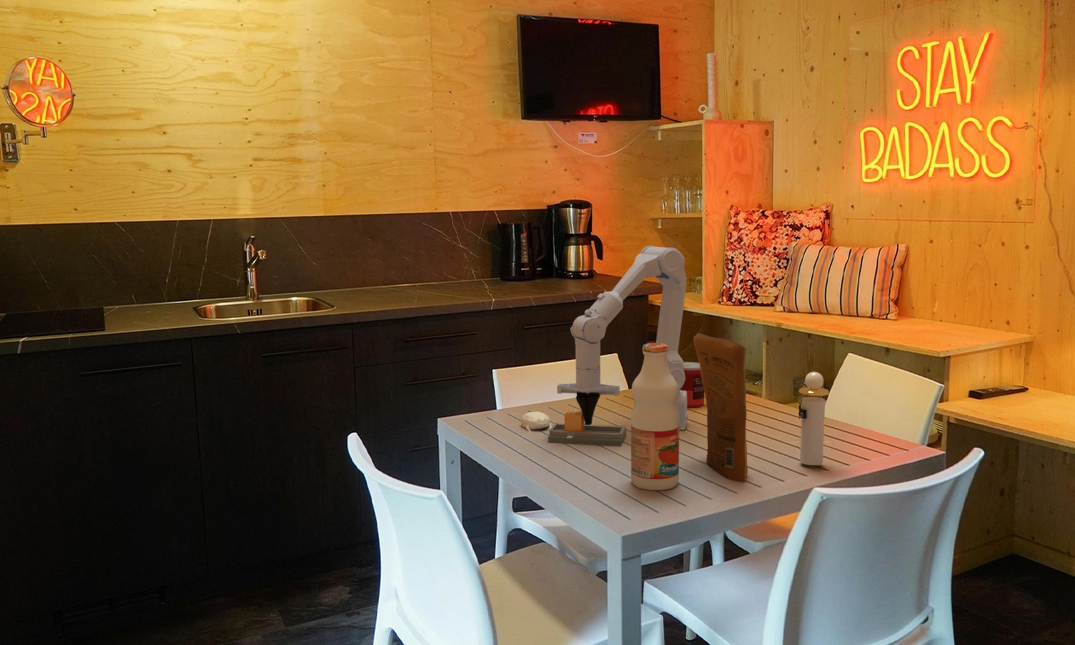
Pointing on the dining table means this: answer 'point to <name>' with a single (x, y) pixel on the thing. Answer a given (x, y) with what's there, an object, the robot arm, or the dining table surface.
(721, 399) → the pancake mix bag
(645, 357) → the fruit juice
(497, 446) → the dining table surface
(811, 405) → the perfume bottle
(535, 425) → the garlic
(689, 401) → the canned food
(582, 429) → the fader tab
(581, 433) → the fader console
